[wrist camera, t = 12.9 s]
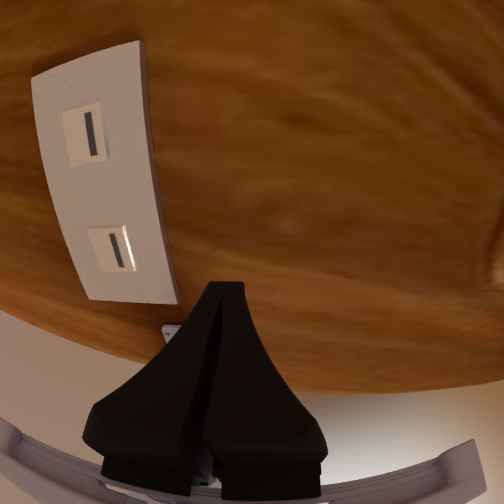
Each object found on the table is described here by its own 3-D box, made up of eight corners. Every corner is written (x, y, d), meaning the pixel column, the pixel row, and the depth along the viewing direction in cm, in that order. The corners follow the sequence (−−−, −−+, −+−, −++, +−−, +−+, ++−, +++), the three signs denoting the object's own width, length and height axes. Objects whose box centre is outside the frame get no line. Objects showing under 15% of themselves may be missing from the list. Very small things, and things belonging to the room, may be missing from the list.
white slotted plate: (179, 296, 24) (176, 306, 23) (93, 292, 24) (87, 301, 23) (145, 41, 13) (137, 39, 12) (39, 76, 13) (28, 78, 12)
